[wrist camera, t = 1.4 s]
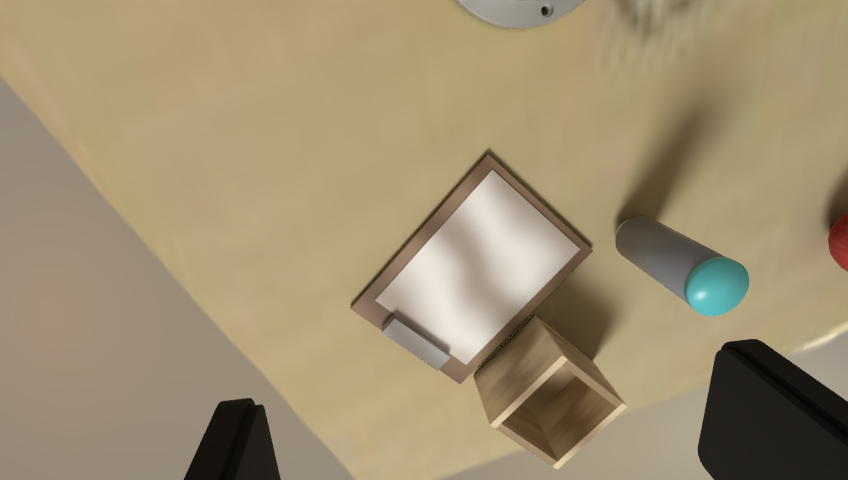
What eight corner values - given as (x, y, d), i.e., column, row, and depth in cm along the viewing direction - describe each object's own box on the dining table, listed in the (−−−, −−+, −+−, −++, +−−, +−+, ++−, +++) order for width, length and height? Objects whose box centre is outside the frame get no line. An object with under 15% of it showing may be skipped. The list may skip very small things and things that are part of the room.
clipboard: (486, 153, 34) (490, 156, 33) (590, 248, 38) (597, 254, 37) (350, 306, 37) (350, 313, 36) (459, 381, 41) (462, 390, 40)
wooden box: (534, 314, 39) (562, 355, 34) (592, 361, 42) (627, 406, 36) (473, 376, 41) (489, 424, 35) (532, 417, 43) (557, 469, 38)
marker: (632, 201, 37) (726, 248, 27) (660, 229, 38) (760, 284, 28) (598, 235, 37) (678, 293, 28) (626, 262, 39) (713, 326, 29)
